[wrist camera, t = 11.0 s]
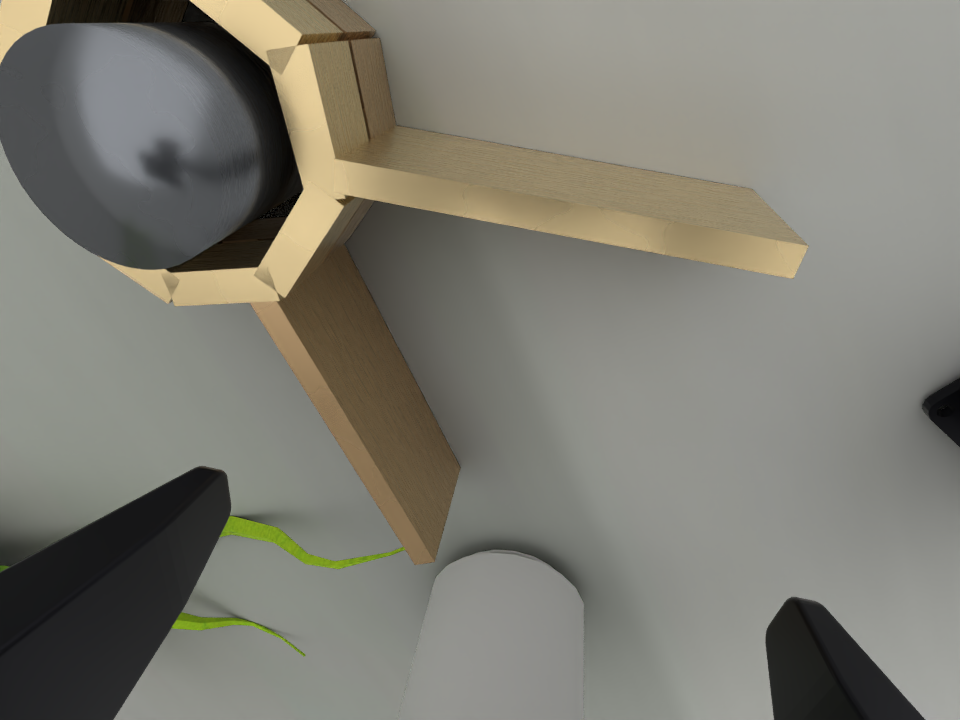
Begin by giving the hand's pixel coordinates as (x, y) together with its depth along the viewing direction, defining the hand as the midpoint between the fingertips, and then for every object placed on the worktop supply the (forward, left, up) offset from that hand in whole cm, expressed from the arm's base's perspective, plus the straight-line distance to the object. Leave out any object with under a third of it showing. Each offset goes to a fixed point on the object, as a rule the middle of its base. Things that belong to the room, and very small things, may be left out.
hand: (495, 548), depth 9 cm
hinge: (+5, +2, -12) cm, 13 cm away
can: (-10, +14, -12) cm, 21 cm away
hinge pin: (+10, +2, -12) cm, 16 cm away
